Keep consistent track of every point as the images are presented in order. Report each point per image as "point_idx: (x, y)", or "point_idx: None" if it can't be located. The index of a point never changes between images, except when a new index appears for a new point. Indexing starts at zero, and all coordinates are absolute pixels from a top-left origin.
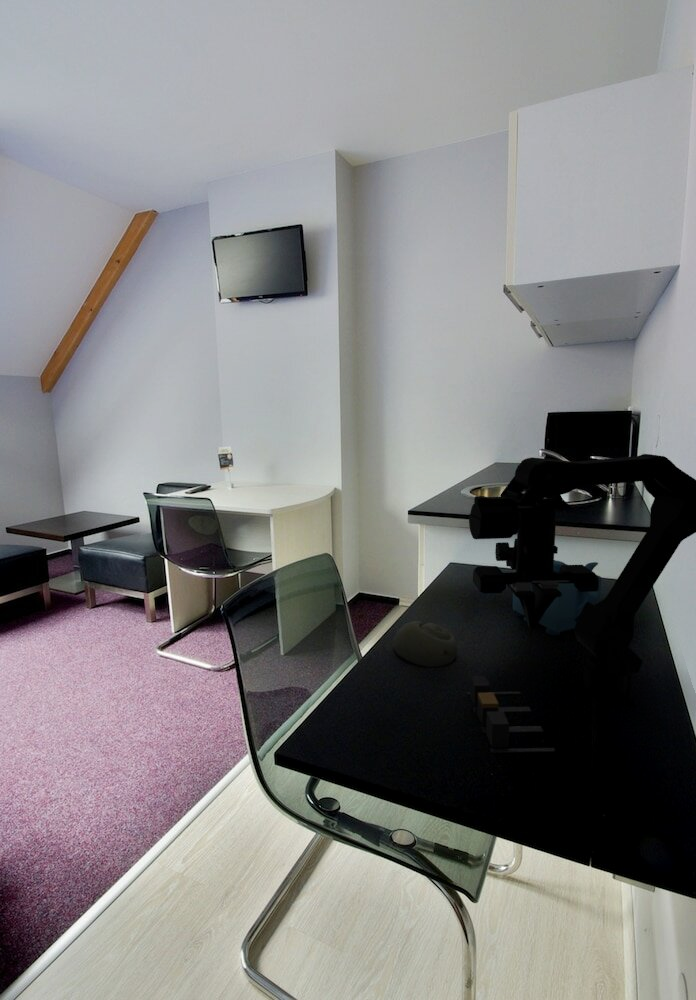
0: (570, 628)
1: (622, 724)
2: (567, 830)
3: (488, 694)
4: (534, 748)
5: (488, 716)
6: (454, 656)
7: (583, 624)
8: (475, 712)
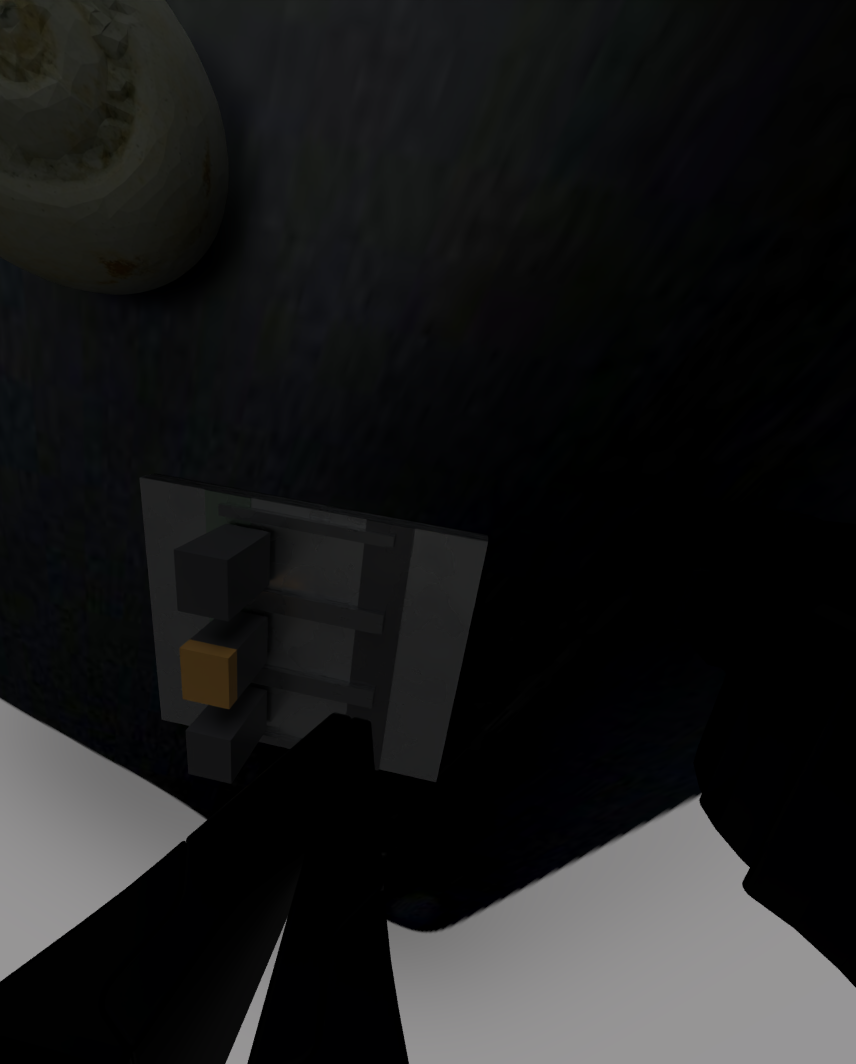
0: None
1: (623, 695)
2: None
3: (210, 663)
4: None
5: (188, 742)
6: (200, 243)
7: (830, 774)
8: None
